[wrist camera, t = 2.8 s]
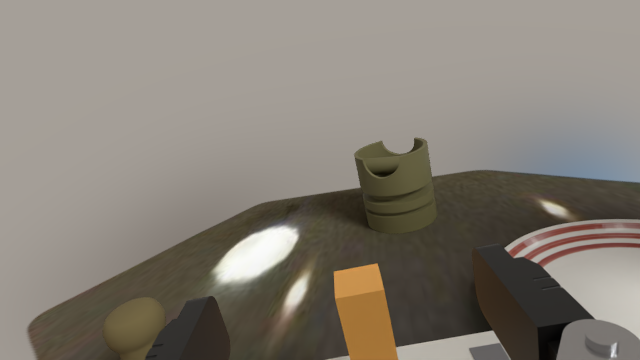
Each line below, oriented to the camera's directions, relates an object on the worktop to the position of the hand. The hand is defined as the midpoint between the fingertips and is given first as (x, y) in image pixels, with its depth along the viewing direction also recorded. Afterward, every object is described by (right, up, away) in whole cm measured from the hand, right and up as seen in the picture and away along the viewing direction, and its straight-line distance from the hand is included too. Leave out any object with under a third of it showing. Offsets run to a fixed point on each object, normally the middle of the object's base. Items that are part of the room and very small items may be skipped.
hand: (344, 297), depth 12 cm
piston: (+13, -3, +52) cm, 54 cm away
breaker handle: (+4, -12, +16) cm, 20 cm away
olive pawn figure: (-15, -18, +26) cm, 35 cm away
